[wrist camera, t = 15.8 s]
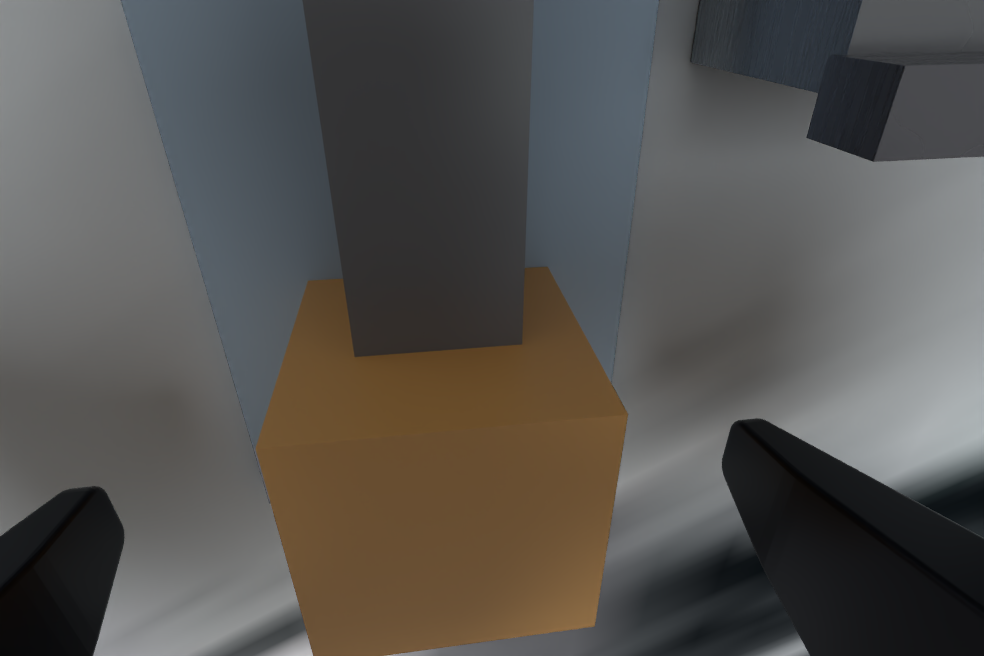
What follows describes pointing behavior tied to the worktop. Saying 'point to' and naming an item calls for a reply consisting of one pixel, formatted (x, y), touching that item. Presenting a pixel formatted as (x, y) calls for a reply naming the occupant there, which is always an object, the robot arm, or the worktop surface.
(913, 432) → the worktop surface
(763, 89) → the worktop surface
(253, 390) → the mat
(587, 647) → the worktop surface
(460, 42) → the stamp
